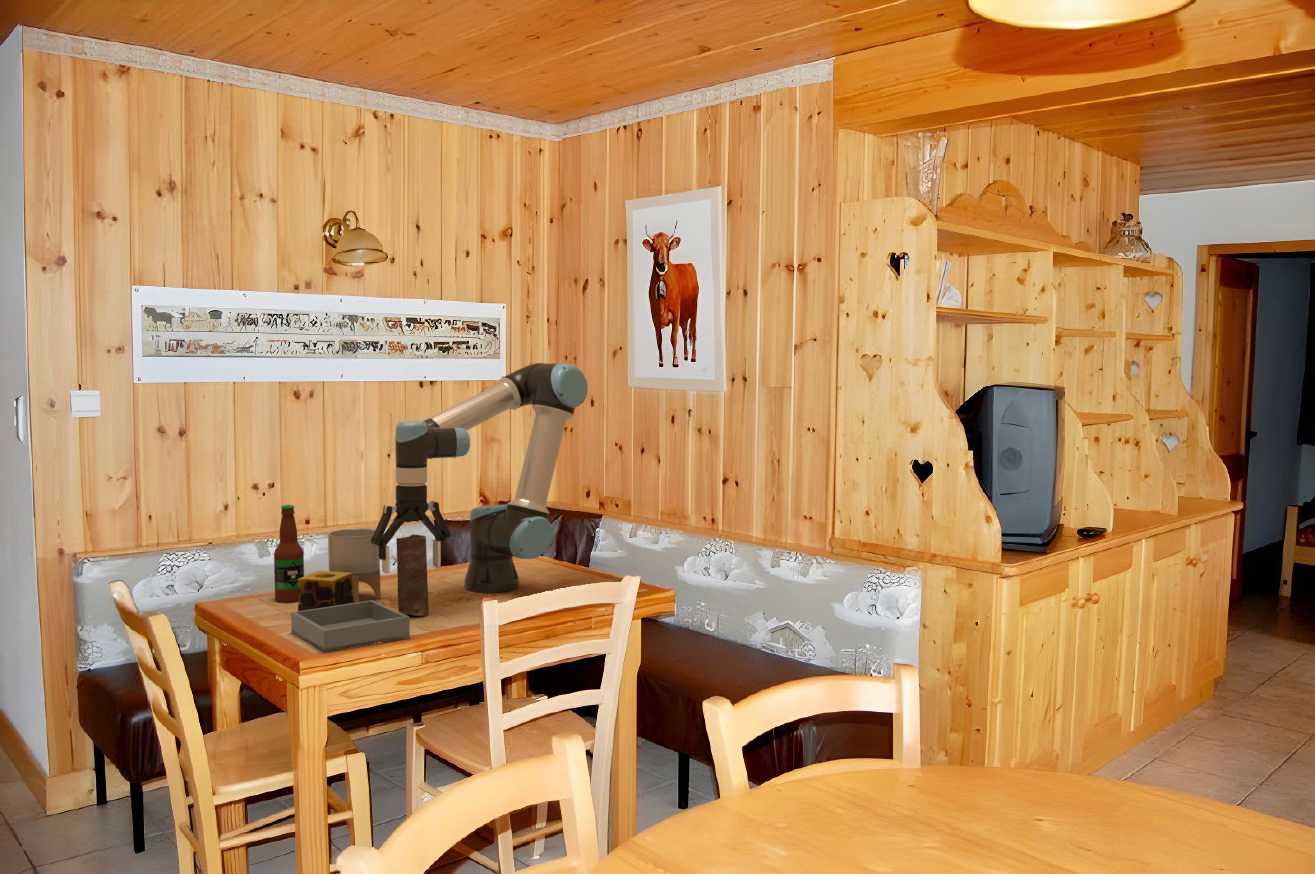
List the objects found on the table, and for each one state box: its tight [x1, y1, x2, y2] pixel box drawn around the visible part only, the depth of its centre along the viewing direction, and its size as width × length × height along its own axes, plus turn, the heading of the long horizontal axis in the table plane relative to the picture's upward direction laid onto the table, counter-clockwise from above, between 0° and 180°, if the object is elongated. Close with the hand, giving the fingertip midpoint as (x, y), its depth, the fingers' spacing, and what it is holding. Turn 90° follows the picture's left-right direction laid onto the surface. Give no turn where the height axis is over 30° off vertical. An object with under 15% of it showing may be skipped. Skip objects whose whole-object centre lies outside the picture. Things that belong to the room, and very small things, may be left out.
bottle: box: [273, 504, 305, 604], centre depth 274 cm, size 7×7×25 cm
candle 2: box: [396, 533, 430, 617], centre depth 260 cm, size 8×7×20 cm
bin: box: [290, 599, 411, 654], centre depth 241 cm, size 20×20×5 cm
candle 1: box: [297, 570, 354, 611], centre depth 260 cm, size 10×10×10 cm
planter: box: [327, 527, 382, 603], centre depth 276 cm, size 13×13×18 cm
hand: (411, 569), depth 260 cm, fingers open, 13 cm apart
